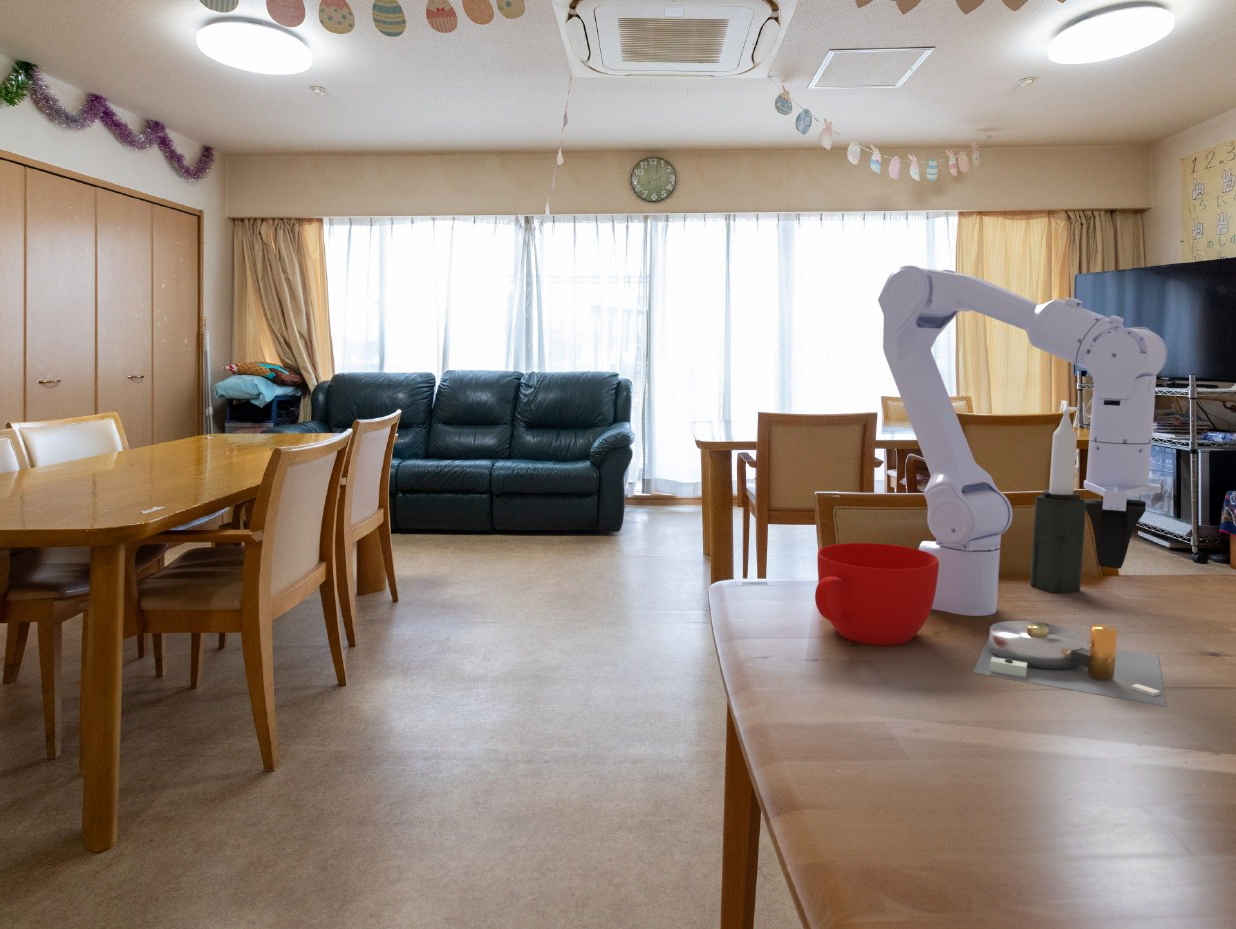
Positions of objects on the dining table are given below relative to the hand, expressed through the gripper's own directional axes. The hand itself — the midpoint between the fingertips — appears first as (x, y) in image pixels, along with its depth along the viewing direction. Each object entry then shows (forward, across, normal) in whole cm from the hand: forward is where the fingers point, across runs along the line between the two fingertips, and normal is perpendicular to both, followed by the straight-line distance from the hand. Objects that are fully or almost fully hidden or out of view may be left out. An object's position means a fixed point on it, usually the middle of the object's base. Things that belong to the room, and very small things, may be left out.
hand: (1110, 566), depth 91 cm
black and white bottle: (+10, +26, +6) cm, 28 cm away
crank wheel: (+8, -10, +4) cm, 14 cm away
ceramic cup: (+10, -12, +23) cm, 28 cm away
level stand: (+9, -10, +3) cm, 14 cm away
